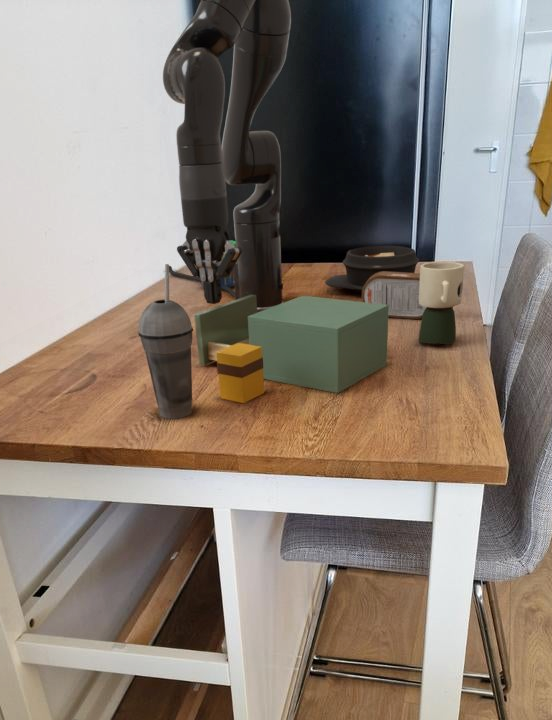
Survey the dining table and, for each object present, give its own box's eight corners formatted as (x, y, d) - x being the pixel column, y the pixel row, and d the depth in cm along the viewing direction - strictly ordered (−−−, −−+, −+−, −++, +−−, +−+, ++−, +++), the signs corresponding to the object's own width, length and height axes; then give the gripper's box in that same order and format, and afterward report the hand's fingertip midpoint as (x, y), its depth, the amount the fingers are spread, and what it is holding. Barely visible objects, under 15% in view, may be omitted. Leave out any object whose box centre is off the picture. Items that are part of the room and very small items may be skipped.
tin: (438, 317, 137) (441, 272, 133) (434, 321, 135) (437, 276, 131) (364, 313, 143) (365, 269, 139) (359, 317, 141) (360, 273, 136)
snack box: (241, 388, 107) (237, 342, 104) (265, 392, 105) (262, 346, 101) (219, 398, 104) (215, 351, 100) (243, 403, 101) (240, 356, 98)
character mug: (464, 351, 118) (471, 270, 111) (421, 353, 118) (425, 272, 111) (451, 333, 127) (457, 258, 121) (411, 335, 127) (415, 260, 121)
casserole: (318, 299, 156) (318, 259, 151) (331, 281, 171) (331, 244, 167) (434, 299, 150) (437, 258, 146) (437, 281, 166) (439, 243, 162)
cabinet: (251, 376, 112) (247, 316, 107) (304, 351, 122) (302, 295, 117) (338, 393, 103) (337, 328, 98) (386, 364, 114) (388, 304, 109)
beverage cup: (151, 405, 103) (131, 261, 93) (201, 401, 103) (186, 258, 93) (148, 424, 96) (126, 272, 86) (201, 420, 97) (185, 268, 87)
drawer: (192, 363, 118) (186, 312, 114) (246, 340, 128) (243, 293, 124) (275, 378, 109) (272, 325, 105) (327, 352, 119) (326, 303, 115)
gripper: (249, 192, 114) (256, 301, 123) (188, 192, 121) (198, 295, 130) (220, 197, 109) (230, 311, 117) (158, 197, 116) (171, 304, 124)
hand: (213, 302), depth 124 cm, fingers closed
